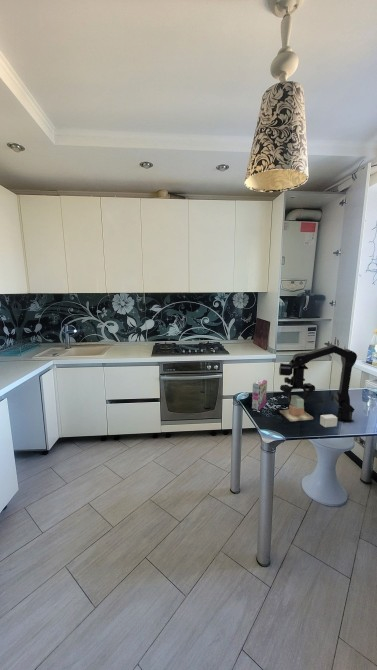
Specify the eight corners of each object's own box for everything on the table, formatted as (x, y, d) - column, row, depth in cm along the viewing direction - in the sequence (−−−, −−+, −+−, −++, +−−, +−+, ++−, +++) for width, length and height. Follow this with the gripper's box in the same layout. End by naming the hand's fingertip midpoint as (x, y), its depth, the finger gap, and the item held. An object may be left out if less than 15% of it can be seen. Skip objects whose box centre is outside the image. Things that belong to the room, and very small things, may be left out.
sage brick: (290, 403, 152) (290, 395, 152) (296, 403, 153) (296, 395, 152) (296, 408, 146) (297, 400, 145) (303, 408, 146) (303, 399, 145)
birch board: (301, 410, 157) (301, 408, 157) (313, 419, 145) (313, 417, 145) (279, 411, 155) (279, 410, 155) (290, 421, 143) (290, 419, 143)
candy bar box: (259, 411, 157) (260, 385, 154) (251, 408, 160) (252, 383, 157) (266, 404, 165) (267, 380, 163) (259, 403, 168) (260, 378, 166)
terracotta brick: (299, 412, 152) (300, 403, 152) (303, 415, 149) (304, 406, 148) (288, 412, 151) (289, 404, 151) (292, 416, 148) (292, 407, 147)
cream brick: (331, 422, 142) (332, 414, 141) (336, 426, 138) (337, 417, 137) (319, 423, 141) (320, 415, 140) (324, 427, 137) (325, 418, 136)
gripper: (305, 371, 156) (303, 395, 158) (276, 372, 153) (275, 397, 155) (316, 376, 145) (315, 403, 147) (285, 378, 142) (284, 405, 145)
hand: (296, 402), depth 149 cm, fingers open, 9 cm apart
